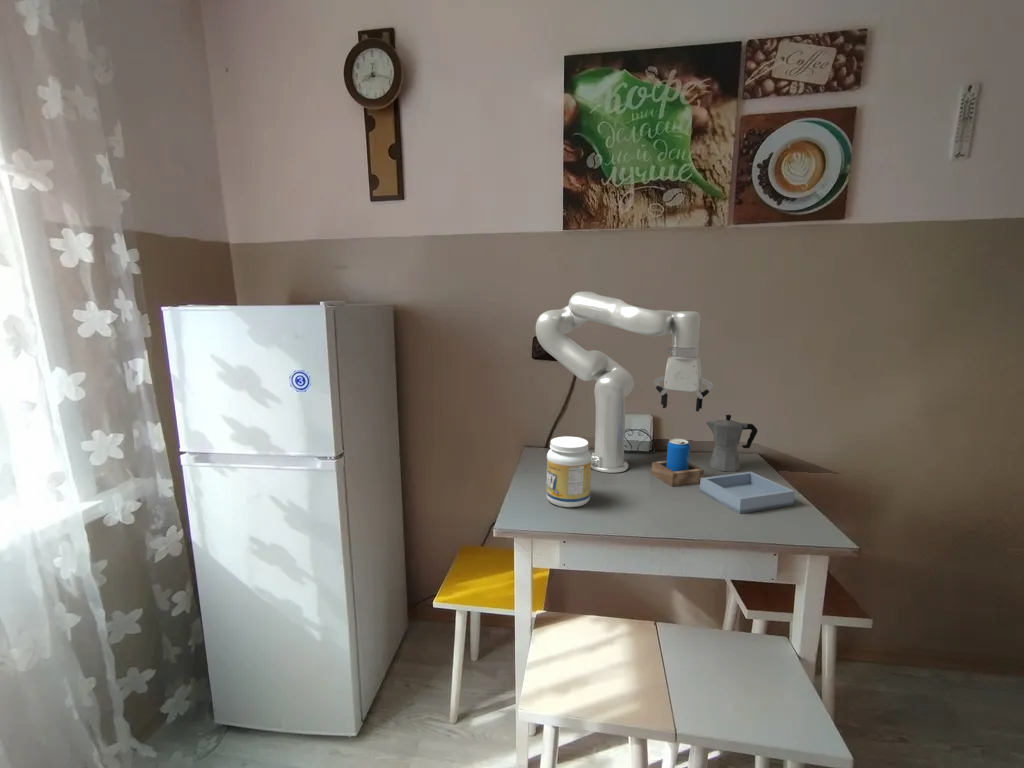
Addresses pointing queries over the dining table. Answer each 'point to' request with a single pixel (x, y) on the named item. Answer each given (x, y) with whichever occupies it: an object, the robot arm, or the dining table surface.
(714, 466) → the coffeepot
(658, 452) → the dining table surface
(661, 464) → the brown wooden box
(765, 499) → the tray
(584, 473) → the supplement tub
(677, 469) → the beverage can
